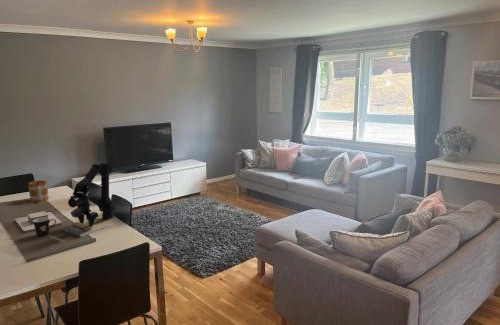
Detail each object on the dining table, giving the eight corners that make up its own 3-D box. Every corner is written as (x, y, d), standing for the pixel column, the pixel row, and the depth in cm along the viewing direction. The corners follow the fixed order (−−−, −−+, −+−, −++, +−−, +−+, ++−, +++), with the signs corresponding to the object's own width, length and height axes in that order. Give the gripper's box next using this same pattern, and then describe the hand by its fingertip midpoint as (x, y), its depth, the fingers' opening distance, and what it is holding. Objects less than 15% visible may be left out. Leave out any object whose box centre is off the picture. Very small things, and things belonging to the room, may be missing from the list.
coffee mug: (33, 238, 225) (31, 222, 223) (37, 233, 233) (35, 218, 231) (54, 236, 228) (52, 220, 226) (57, 231, 236) (55, 216, 234)
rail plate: (95, 222, 250) (94, 217, 249) (111, 227, 240) (111, 221, 240) (65, 233, 233) (64, 226, 232) (82, 238, 223) (81, 232, 222)
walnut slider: (78, 228, 238) (77, 222, 237) (91, 232, 230) (91, 226, 230) (72, 229, 235) (72, 223, 234) (85, 234, 227) (85, 228, 226)
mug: (29, 199, 309) (27, 181, 306) (48, 196, 316) (46, 179, 313) (31, 205, 293) (28, 186, 290) (50, 202, 300) (48, 184, 297)
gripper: (63, 203, 230) (66, 227, 233) (81, 208, 220) (83, 233, 223) (79, 199, 239) (82, 222, 242) (97, 203, 229) (99, 227, 232)
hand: (86, 226), depth 235 cm, fingers open, 9 cm apart
